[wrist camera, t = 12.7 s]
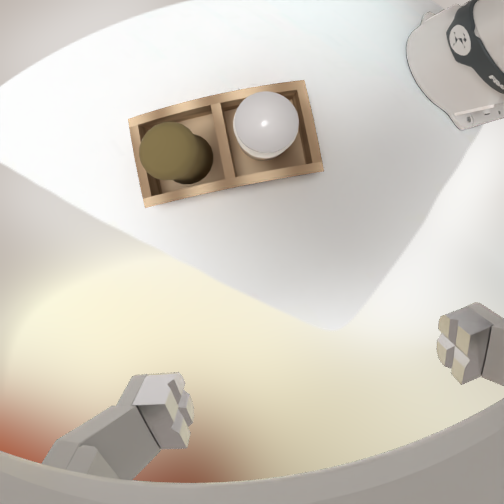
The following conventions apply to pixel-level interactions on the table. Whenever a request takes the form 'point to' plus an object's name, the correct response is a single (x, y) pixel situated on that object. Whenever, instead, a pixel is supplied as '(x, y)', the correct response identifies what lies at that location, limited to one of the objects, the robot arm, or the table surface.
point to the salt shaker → (265, 125)
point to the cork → (175, 153)
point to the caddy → (228, 144)
